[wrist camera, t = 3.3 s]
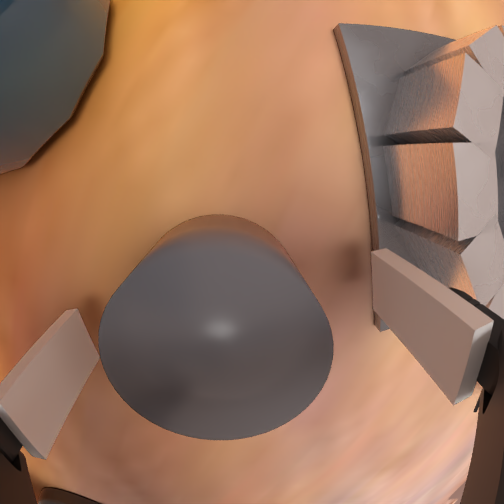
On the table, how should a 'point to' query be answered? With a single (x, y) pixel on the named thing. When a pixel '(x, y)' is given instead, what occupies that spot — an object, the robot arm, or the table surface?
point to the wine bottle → (44, 69)
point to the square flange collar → (433, 150)
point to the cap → (216, 333)
